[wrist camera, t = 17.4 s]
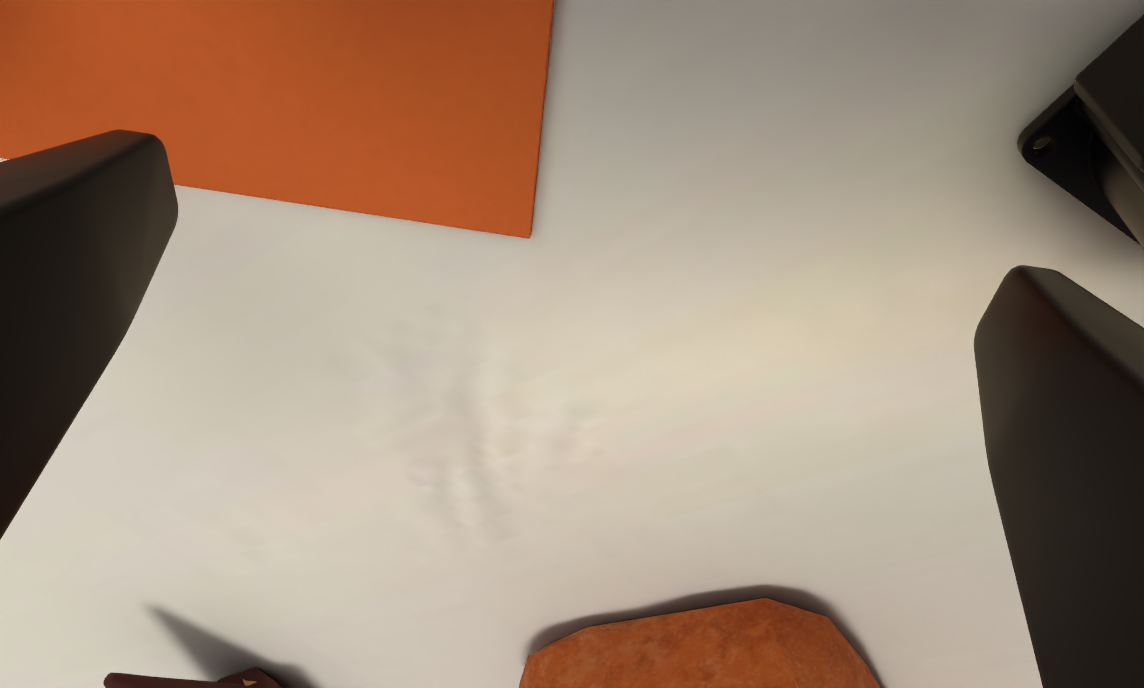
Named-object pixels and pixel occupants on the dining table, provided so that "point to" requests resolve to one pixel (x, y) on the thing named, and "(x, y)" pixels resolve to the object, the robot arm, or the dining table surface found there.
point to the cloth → (298, 97)
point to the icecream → (192, 681)
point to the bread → (704, 652)
